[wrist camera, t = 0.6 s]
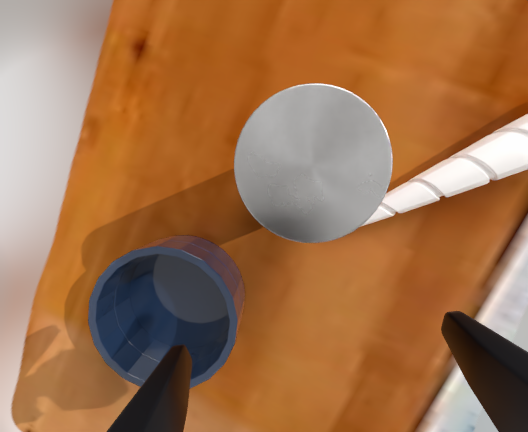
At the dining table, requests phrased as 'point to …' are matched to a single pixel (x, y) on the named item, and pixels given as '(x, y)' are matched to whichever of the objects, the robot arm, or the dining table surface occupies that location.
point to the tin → (313, 163)
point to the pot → (167, 307)
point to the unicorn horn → (462, 171)
